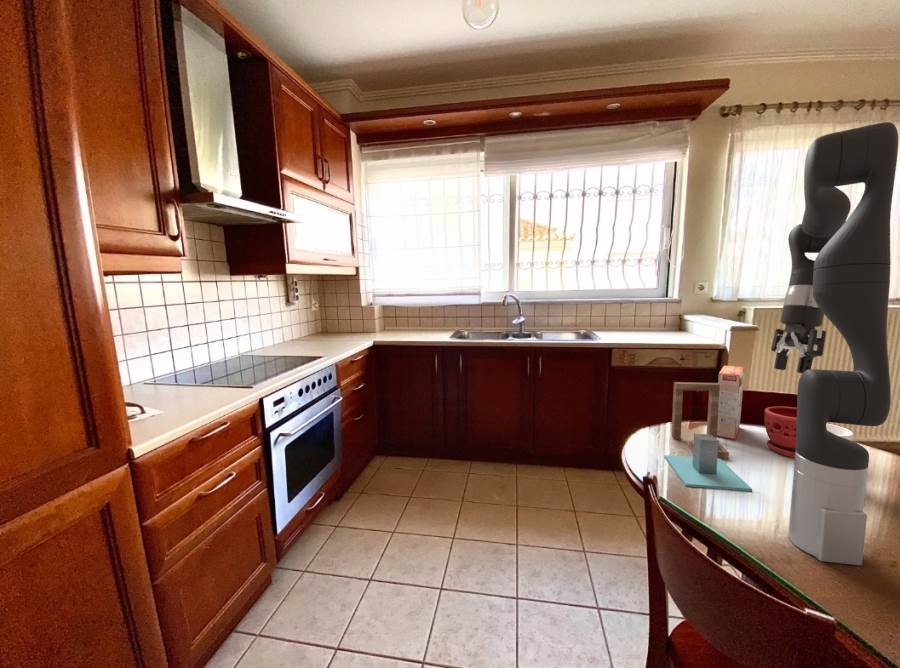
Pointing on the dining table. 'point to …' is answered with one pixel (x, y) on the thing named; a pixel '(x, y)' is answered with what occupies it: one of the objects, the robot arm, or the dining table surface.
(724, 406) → the cracker box
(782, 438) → the plant pot
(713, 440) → the steel bar
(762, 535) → the dining table surface
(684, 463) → the teal mat
